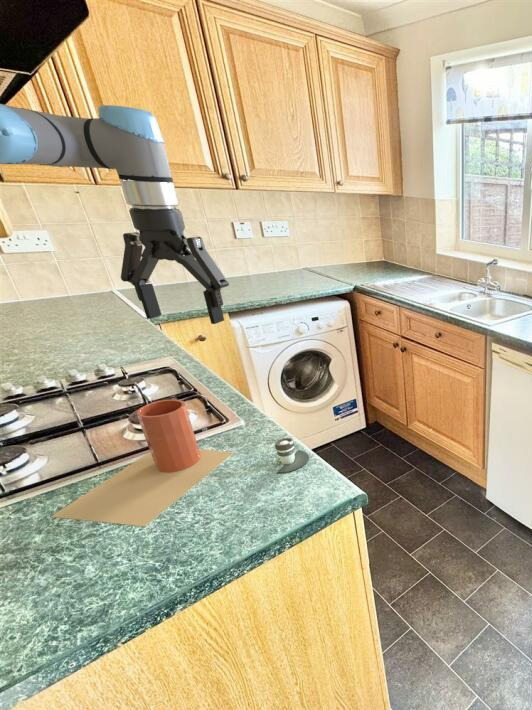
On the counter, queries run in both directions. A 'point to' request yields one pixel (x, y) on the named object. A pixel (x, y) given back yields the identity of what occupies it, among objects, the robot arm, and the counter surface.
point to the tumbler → (169, 435)
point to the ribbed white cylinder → (290, 455)
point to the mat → (140, 491)
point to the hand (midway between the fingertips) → (186, 319)
